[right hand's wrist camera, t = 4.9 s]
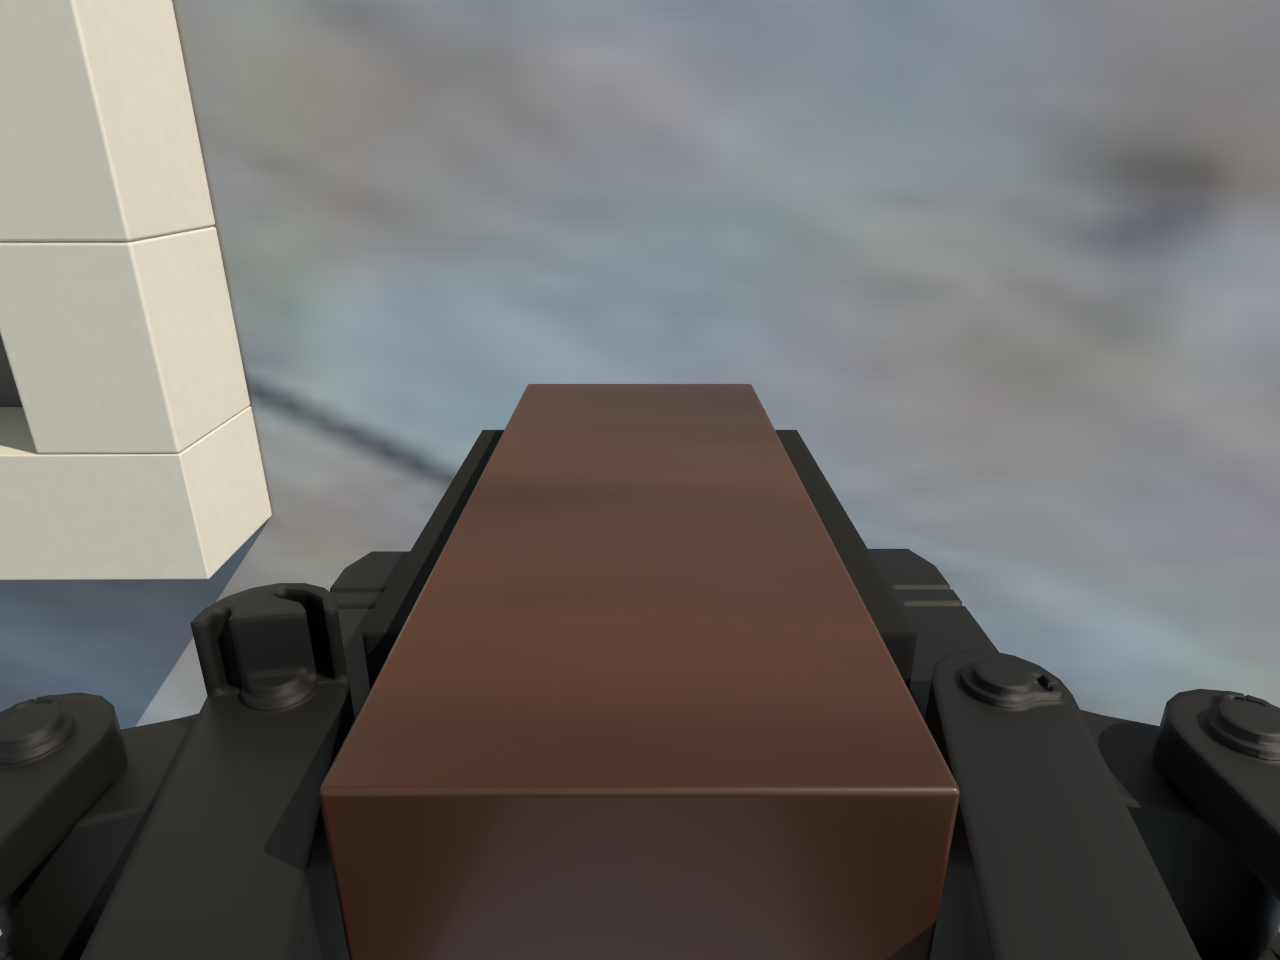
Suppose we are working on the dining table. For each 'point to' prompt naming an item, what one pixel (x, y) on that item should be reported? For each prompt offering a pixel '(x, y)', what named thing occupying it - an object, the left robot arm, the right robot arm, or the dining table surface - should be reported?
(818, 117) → the dining table surface
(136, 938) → the right robot arm
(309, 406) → the dining table surface
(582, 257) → the dining table surface
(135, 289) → the peg board
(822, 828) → the peg
